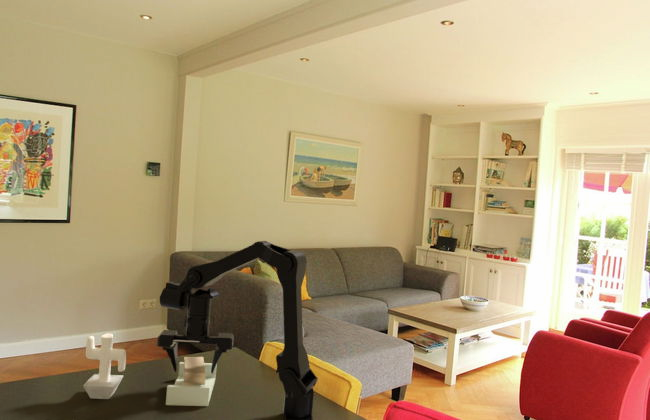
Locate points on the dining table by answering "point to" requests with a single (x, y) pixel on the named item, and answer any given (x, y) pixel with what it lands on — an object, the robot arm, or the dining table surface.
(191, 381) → the beige tapered block
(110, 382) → the figurine
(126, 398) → the dining table surface
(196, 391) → the pale green pegged panel
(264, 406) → the dining table surface
